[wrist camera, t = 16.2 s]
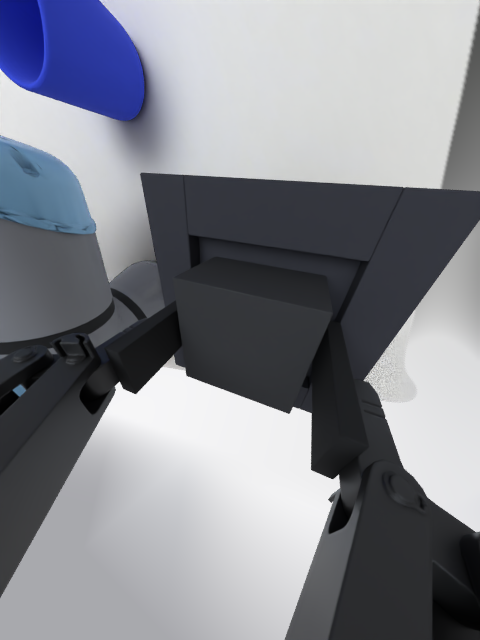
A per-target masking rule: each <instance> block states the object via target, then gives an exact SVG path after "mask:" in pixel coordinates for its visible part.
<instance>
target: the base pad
mask: <svg viewBox="0 0 480 640" xmlns="http://www.w3.org/2000/svg"><path fill="white" fill-rule="evenodd" d="M140 176H141V181H142V186H143V192H144V197H145V202H146V208H147V213H148V218H149V224H150V229H151V234H152V240H153V245H154V250H155V256H156V261H157V267H158V272H159V277H160V283H161V288H162V293H163V299H164V304H165V307H166V306H168V305H169V304H171V303H172V302H174V301H175V300H176V299H175V292H174V285H173V277H175V276H177V275H179V274H181V273H183V272H185V271H187V270H189V269H191V268H193V267H195V266H197V265H199V264H201V263H203V262H205V261H207V260H209V259H211V258H213V257H222V258H228V259H233V260H239V261H245V262H250V263H256V264H262V265H267V266H273V267H279V268H284V269H290V270H296V271H302V272H307V273H313V274H319V275H324V276H327V282H328V288H329V293H330V299H331V305H332V310H333V315H332V317H331V320H330V321H334V322H339V323H341V327H342V331H343V335H344V340H345V344H346V348H347V353H348V357H349V361H350V366H351V370H352V374H353V378H355V379H358V380H362V381H363V380H364V379H365V377H366V376H367V375H368V373H369V372H370V370H371V369H372V368H373V366H374V365H375V364H376V362H377V361H378V359H379V358H380V357H381V355H382V354H383V353H384V351H385V350H386V348H387V347H388V346H389V344H390V343H391V341H392V340H393V339H394V337H395V336H396V335H397V333H398V332H399V330H400V329H401V328H402V326H403V325H404V324H405V322H406V321H407V319H408V318H409V317H410V315H411V314H412V312H413V311H414V310H415V308H416V307H417V306H418V304H419V303H420V301H421V300H422V299H423V297H424V296H425V295H426V293H427V292H428V290H429V289H430V288H431V286H432V285H433V283H434V282H435V281H436V279H437V278H438V277H439V275H440V274H441V272H442V271H443V270H444V268H445V267H446V266H447V264H448V263H449V261H450V260H451V259H452V257H453V256H454V254H455V253H456V252H457V250H458V249H459V248H460V246H461V245H462V243H463V242H464V241H465V239H466V238H467V237H468V235H469V234H470V232H471V231H472V229H473V228H474V227H475V225H476V224H477V223H478V221H479V220H480V192H479V191H463V190H444V189H427V188H409V187H406V188H403V187H392V186H374V185H356V184H338V183H319V182H301V181H283V180H265V179H247V178H229V177H211V176H193V175H174V174H156V173H140ZM174 357H175V363H176V365H179V366H182V367H185V361H184V354H183V347H181V348H180V349H179V350H178V351H177V352H176V353H175V354H174ZM293 407H296V408H300V409H302V410H305V411H307V412H310V413H312V363H311V366H310V368H309V370H308V373H307V375H306V377H305V380H304V382H303V384H302V386H301V389H300V391H299V393H298V396H297V398H296V400H295V403H294V405H293Z"/></svg>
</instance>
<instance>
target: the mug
mask: <svg viewBox="0 0 480 640" xmlns="http://www.w3.org/2000/svg"><path fill="white" fill-rule="evenodd" d="M0 69H1V70H2V71H3V72H4V73H5V74H6V75H7V76H8V77H9V78H10V79H11V80H12V81H13V82H14V83H16V84H17V85H18V86H20V87H22V88H24V89H26V90H28V91H31V92H34V93H37V94H40V95H43V96H46V97H49V98H52V99H55V100H59V101H62V102H65V103H68V104H71V105H74V106H77V107H80V108H83V109H86V110H89V111H92V112H95V113H98V114H101V115H104V116H107V117H110V118H113V119H116V120H121V121H128V120H131V119H133V118H135V117H136V116H137V114H138V113H139V112H140V110H141V107H142V104H143V100H144V76H143V70H142V66H141V62H140V59H139V56H138V53H137V51H136V48H135V46H134V44H133V42H132V40H131V39H130V37H129V35H128V34H127V32H126V31H125V30H124V28H123V27H122V25H121V24H120V23H119V22H118V21H117V20H116V18H115V17H114V16H113V15H112V14H111V13H110V12H109V11H108V10H107V9H106V8H105V6H104V5H103V4H102V3H101V2H100V1H99V0H0Z"/></svg>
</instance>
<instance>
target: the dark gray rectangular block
mask: <svg viewBox="0 0 480 640" xmlns="http://www.w3.org/2000/svg"><path fill="white" fill-rule="evenodd" d="M173 285H174V292H175V299H176V305H177V312H178V319H179V326H180V333H181V340H182V347H183V354H184V361H185V368H186V375H187V376H188V377H192V378H194V379H197V380H199V381H202V382H205V383H208V384H210V385H213V386H215V387H218V388H221V389H224V390H226V391H229V392H232V393H235V394H237V395H240V396H243V397H245V398H248V399H251V400H253V401H256V402H259V403H261V404H264V405H267V406H269V407H272V408H275V409H278V410H281V411H283V412H286V413H288V414H289V413H290V411H291V410H292V407H293V405H294V403H295V400H296V398H297V396H298V393H299V391H300V389H301V386H302V384H303V382H304V380H305V377H306V375H307V373H308V370H309V368H310V366H311V363H312V361H313V359H314V356H315V354H316V352H317V350H318V347H319V345H320V343H321V340H322V338H323V336H324V333H325V331H326V329H327V326H328V324H329V322H330V320H331V317H332V315H333V310H332V305H331V299H330V293H329V288H328V282H327V276H324V275H319V274H313V273H307V272H302V271H296V270H290V269H284V268H279V267H273V266H267V265H262V264H256V263H250V262H245V261H239V260H233V259H228V258H222V257H213V258H211V259H209V260H207V261H205V262H203V263H201V264H199V265H197V266H195V267H193V268H191V269H189V270H187V271H185V272H183V273H181V274H179V275H177V276H175V277H173Z"/></svg>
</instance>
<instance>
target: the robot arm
mask: <svg viewBox="0 0 480 640" xmlns="http://www.w3.org/2000/svg"><path fill="white" fill-rule="evenodd" d="M95 231H96V224H95V222H94V220H93V219H92V218H91V216H90V213H89V210H88V206H87V203H86V200H85V197H84V194H83V191H82V188H81V185H80V183H79V181H78V179H77V178H76V176H75V175H74V173H73V172H72V171H71V170H70V169H69V168H68V167H67V166H66V165H65V164H64V163H63V162H62V161H60V160H59V159H57V158H56V157H54V156H52V155H51V154H49V153H46V152H44V151H42V150H39V149H37V148H34V147H32V146H29V145H26V144H23V143H21V142H18V141H15V140H12V139H9V138H6V137H3V136H1V135H0V597H1V595H2V594H3V592H4V590H5V588H6V587H7V584H8V583H9V581H10V579H11V578H12V576H13V574H14V572H15V570H16V569H17V567H18V565H19V563H20V562H21V560H22V558H23V556H24V554H25V553H26V551H27V549H28V547H29V546H30V544H31V542H32V540H33V538H34V537H35V535H36V533H37V531H38V529H39V528H40V526H41V524H42V522H43V520H44V519H45V517H46V515H47V513H48V512H49V510H50V508H51V506H52V505H53V503H54V501H55V499H56V497H57V496H58V494H59V492H60V490H61V488H62V487H63V485H64V483H65V481H66V479H67V478H68V476H69V474H70V472H71V471H72V469H73V467H74V465H75V463H76V462H77V460H78V458H79V456H80V455H81V453H82V451H83V449H84V447H85V446H86V444H87V442H88V440H89V439H90V437H91V435H92V433H93V431H94V430H95V428H96V426H97V424H98V422H99V421H100V419H101V417H102V415H103V413H104V412H105V410H106V408H107V406H108V405H109V403H110V401H111V399H112V397H113V396H114V393H115V391H116V389H115V385H116V384H117V383H118V382H120V383H121V385H122V387H123V389H125V390H127V391H130V392H132V393H134V394H136V393H137V392H138V391H139V390H140V389H141V388H142V387H143V386H144V385H145V384H146V383H147V382H148V381H149V380H150V379H151V378H152V377H153V376H154V375H155V374H156V373H157V372H158V371H159V370H160V368H161V367H162V366H163V365H164V364H165V363H166V362H167V361H168V360H169V359H170V358H171V357H172V356H173V355H174V354H175V353H176V352H177V351H178V350H179V349H180V348H181V347H182V340H181V333H180V326H179V319H178V312H177V305H176V300H175V301H174V302H172V303H171V304H169V305H168V306H166V307H165V304H164V299H163V293H162V288H161V283H160V277H159V272H158V267H157V262H154V261H141V262H138V263H135V264H132V265H131V266H129V267H127V268H126V269H125V270H124V271H123V272H121V273H120V274H119V275H118V276H117V277H115V278H114V279H113V280H112V281H111V282H110V283H109V282H108V278H107V275H106V271H105V267H104V263H103V260H102V256H101V252H100V248H99V245H98V241H97V237H96V233H95ZM381 407H382V405H381V402H380V399H379V396H378V394H377V393H376V391H375V390H374V389H373V387H372V386H371V385H370V383H369V382H365V381H362V380H358V379H355V378H353V374H352V370H351V366H350V361H349V357H348V353H347V348H346V344H345V340H344V335H343V331H342V327H341V323H339V322H334V321H330V322H329V324H328V326H327V329H326V331H325V333H324V336H323V338H322V340H321V343H320V345H319V347H318V350H317V352H316V354H315V356H314V359H313V361H312V442H311V445H312V446H311V470H312V471H315V472H317V473H320V474H322V475H324V476H326V477H329V478H331V479H334V478H335V477H336V476H337V475H338V474H339V479H340V489H338V490H337V491H336V492H334V493H333V494H332V495H331V497H330V498H329V499H328V500H329V501H330V502H331V503H332V502H333V504H332V507H331V510H330V512H329V515H328V518H327V521H326V524H325V527H324V530H323V532H322V536H321V538H320V541H319V544H318V547H317V549H316V552H315V555H314V558H313V561H312V564H311V566H310V569H309V572H308V575H307V578H306V581H305V583H304V586H303V589H302V592H301V595H300V598H299V600H298V603H297V606H296V609H295V612H294V615H293V618H292V620H291V623H290V626H289V629H288V632H287V634H286V637H285V640H480V532H475V531H473V530H472V529H471V528H469V527H468V526H466V525H465V524H463V523H462V522H460V521H459V520H458V519H456V518H455V517H453V516H452V515H450V514H449V513H448V512H446V511H445V510H443V509H442V508H440V507H439V506H438V505H436V504H435V503H434V502H432V501H431V500H430V499H428V498H427V496H426V494H425V492H424V491H423V489H422V488H421V486H420V485H419V484H418V482H417V481H416V480H415V479H414V477H413V476H412V475H410V474H409V473H408V472H407V471H406V470H405V469H404V468H403V465H402V463H401V461H400V458H399V455H398V452H397V449H396V446H395V443H394V440H393V437H392V435H391V432H390V429H389V426H388V423H387V420H386V419H385V414H384V411H383V409H382V408H381Z"/></svg>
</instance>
